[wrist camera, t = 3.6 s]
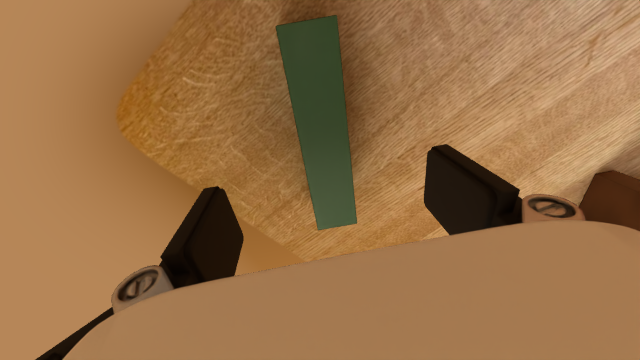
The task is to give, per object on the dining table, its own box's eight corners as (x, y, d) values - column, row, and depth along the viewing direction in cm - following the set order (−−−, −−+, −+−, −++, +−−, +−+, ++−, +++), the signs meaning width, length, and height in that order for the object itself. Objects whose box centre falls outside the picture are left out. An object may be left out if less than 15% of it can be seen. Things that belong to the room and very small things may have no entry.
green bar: (280, 30, 16) (275, 25, 12) (328, 21, 16) (337, 14, 12) (314, 202, 22) (318, 230, 19) (347, 196, 22) (357, 223, 19)
